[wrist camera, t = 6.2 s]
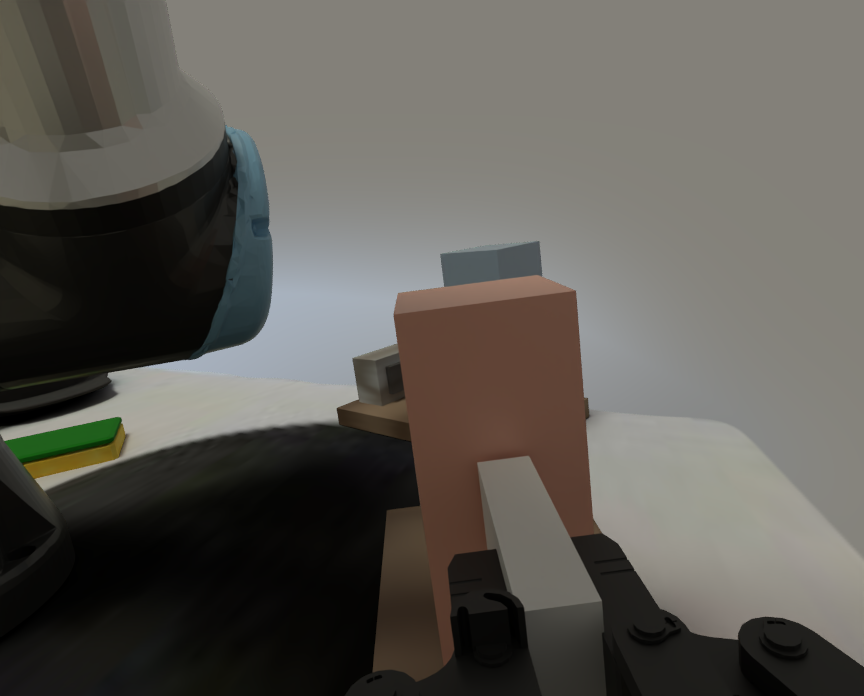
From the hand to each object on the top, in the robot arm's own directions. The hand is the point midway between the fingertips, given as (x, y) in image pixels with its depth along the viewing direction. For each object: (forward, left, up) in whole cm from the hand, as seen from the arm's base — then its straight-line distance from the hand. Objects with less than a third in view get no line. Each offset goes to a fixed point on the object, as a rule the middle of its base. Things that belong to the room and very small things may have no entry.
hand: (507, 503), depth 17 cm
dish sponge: (-49, -3, -9) cm, 50 cm away
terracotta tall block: (-2, +2, -6) cm, 7 cm away
